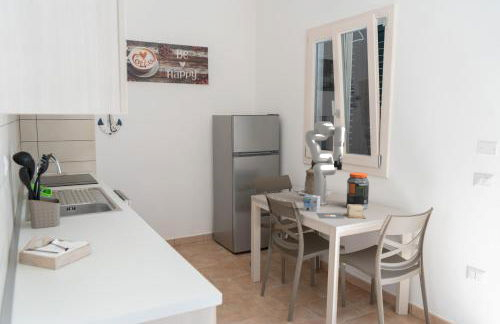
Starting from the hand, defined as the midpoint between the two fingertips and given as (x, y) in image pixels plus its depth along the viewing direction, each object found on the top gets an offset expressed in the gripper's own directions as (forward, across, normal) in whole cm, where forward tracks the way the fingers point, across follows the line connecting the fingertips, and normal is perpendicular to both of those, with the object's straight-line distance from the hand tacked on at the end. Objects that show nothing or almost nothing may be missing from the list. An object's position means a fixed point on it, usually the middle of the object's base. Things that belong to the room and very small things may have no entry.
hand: (337, 168), depth 273 cm
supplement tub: (+32, -14, +20) cm, 40 cm away
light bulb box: (+32, -4, -16) cm, 36 cm away
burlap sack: (+34, -62, -2) cm, 71 cm away
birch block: (+30, +12, +10) cm, 34 cm away
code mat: (+31, +12, -6) cm, 34 cm away
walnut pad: (+31, +12, +11) cm, 35 cm away
